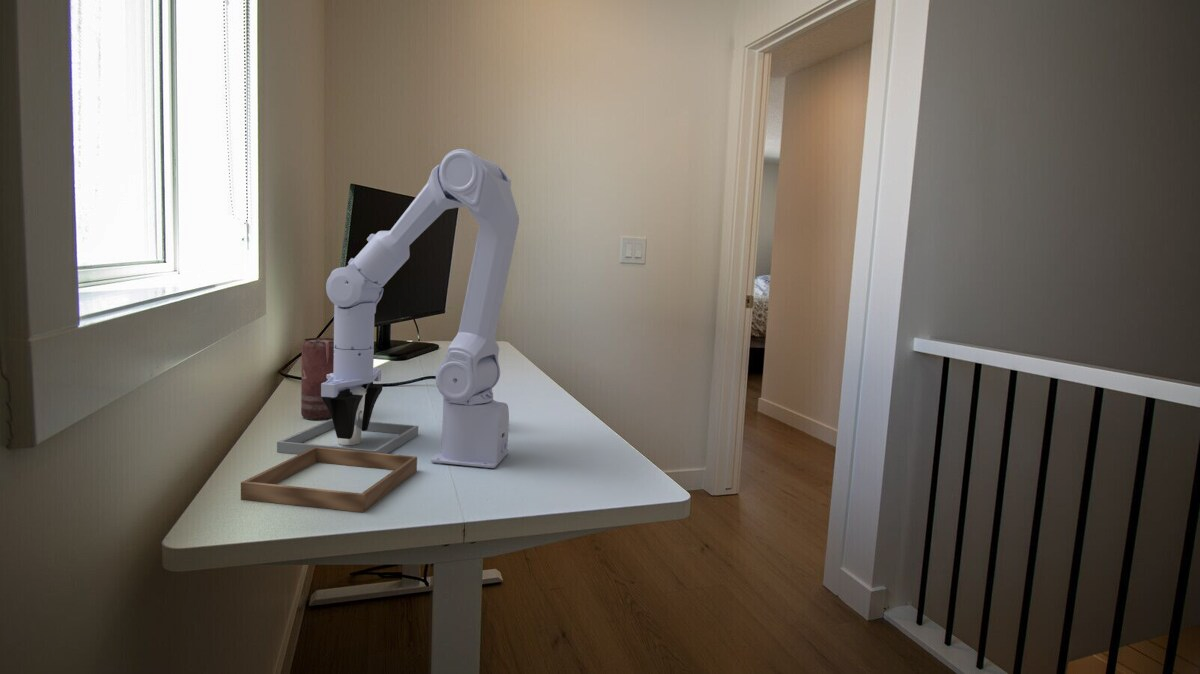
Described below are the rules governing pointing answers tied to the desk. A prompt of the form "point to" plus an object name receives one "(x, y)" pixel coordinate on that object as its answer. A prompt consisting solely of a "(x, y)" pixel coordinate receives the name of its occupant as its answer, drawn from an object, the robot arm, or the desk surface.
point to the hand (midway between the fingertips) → (352, 433)
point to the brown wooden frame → (268, 491)
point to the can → (315, 376)
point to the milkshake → (356, 418)
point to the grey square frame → (297, 447)
